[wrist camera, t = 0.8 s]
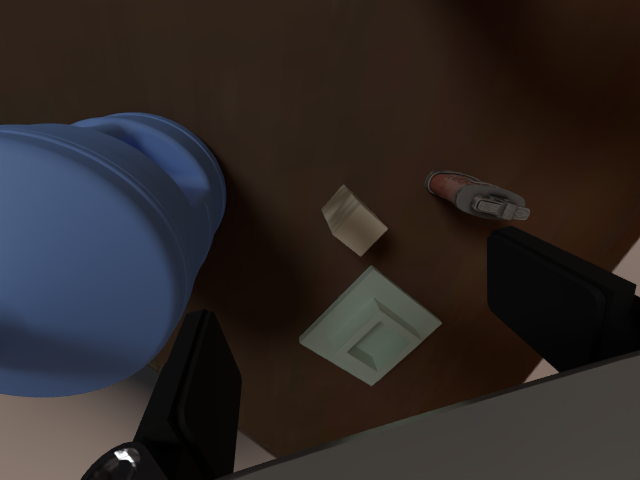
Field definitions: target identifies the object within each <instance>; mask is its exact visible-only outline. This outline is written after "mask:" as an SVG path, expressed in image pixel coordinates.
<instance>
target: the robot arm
mask: <svg viewBox="0 0 640 480" xmlns="http://www.w3.org/2000/svg"><path fill="white" fill-rule="evenodd" d="M635 289H636V284H634V283H632V282H630V281H627V280H625V279H623V278H621V277H619V276H617V275H615V274H613V273H611V272H608V271H606V270H604V269H602V268H600V267H598V266H596V265H594V264H592V263H589V262H587V261H585V260H583V259H581V258H579V257H577V256H575V255H573V254H570V253H568V252H566V251H564V250H562V249H560V248H558V247H556V246H554V245H551V244H549V243H547V242H545V241H543V240H541V239H539V238H537V237H535V236H532V235H530V234H528V233H526V232H524V231H522V230H520V229H518V228H515V227H513V226H508V227H504V228H501V229H497V230H494V231H492V233H491V236H489V237H488V238H487V301H488V306H489V308H490V310H491V311H492V312H493V313H494V314H495V315H496V316H497V317H498V318H499V319H500V320H502V321H503V322H504V323H505V324H506V325H507V326H508V327H509V328H510V329H512V330H513V331H514V332H515V333H516V334H517V335H518V336H519V337H521V338H522V339H523V340H524V341H525V342H526V343H527V344H528V345H529V346H531V347H532V348H533V349H534V350H535V351H536V352H537V353H538V354H539V355H541V356H542V357H543V358H544V359H545V360H546V361H547V362H548V363H550V364H551V365H552V366H553V367H554V368H555V369H556V370H557V371H558V372H559V373H557V374H554V375H550V376H547V377H544V378H540V379H537V380H534V381H530V382H527V383H523V384H520V385H516V386H513V387H510V388H506V389H503V390H499V391H496V392H493V393H489V394H486V395H483V396H479V397H476V398H473V399H469V400H466V401H463V402H459V403H456V404H453V405H449V406H446V407H443V408H439V409H436V410H433V411H430V412H426V413H423V414H420V415H416V416H413V417H410V418H406V419H403V420H400V421H396V422H393V423H390V424H387V425H383V426H380V427H377V428H374V429H370V430H367V431H364V432H361V433H357V434H354V435H351V436H347V437H344V438H341V439H338V440H334V441H331V442H328V443H325V444H321V445H318V446H315V447H312V448H308V449H305V450H302V451H299V452H295V453H292V454H289V455H286V456H283V457H280V458H277V459H274V460H271V461H268V462H265V463H262V464H259V465H255V466H252V467H249V468H246V469H243V470H241V471H237V472H234V473H233V470H234V460H235V450H236V439H237V428H238V418H239V407H240V397H241V386H242V379H241V374H240V371H239V369H238V367H237V364H236V362H235V360H234V357H233V355H232V353H231V350H230V348H229V346H228V343H227V341H226V339H225V336H224V334H223V332H222V329H221V327H220V325H219V323H218V320H217V318H216V316H215V314H214V312H208V311H207V310H206V309H202V310H199V311H195V312H191V313H188V314H186V316H185V318H184V321H183V323H182V326H181V328H180V331H179V333H178V336H177V338H176V341H175V343H174V346H173V348H172V351H171V353H170V356H169V358H168V361H167V363H165V365H164V366H163V368H162V371H161V373H160V376H159V378H158V381H157V383H156V386H155V388H154V390H153V393H152V395H151V398H150V400H149V403H148V405H147V408H146V410H145V412H144V415H143V417H142V420H141V422H140V425H139V427H138V430H137V432H136V435H135V437H134V439H133V441H132V442H127V443H123V444H121V445H119V446H117V447H114V448H113V449H111V450H110V451H108V452H107V453H105V454H104V455H102V456H101V457H100V458H99V459H98V460H97V461H96V462H95V463H94V464H92V465H91V467H90V468H89V469H88V470H87V472H86V473H85V474H84V475H83V476H82V478H81V480H640V297H638V296H636V295H634V294H635Z"/></svg>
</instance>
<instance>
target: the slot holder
mask: <svg viewBox="0 0 640 480" xmlns="http://www.w3.org/2000/svg"><path fill="white" fill-rule="evenodd" d="M441 324H442V323H441V321H440V320H439V319H438V318H437V317H436V316H435V315H433V314H432V313H431V312H430V311H428V310H427V309H426V308H425V307H423V306H422V305H421V304H420V303H418V302H417V301H416V300H415V299H413V298H412V297H411V296H410V295H408V294H407V293H406V292H405V291H403V290H402V289H401V288H400V287H398V286H397V285H396V284H395V283H393V282H392V281H391V280H390V279H388V278H387V277H386V276H385V275H383V274H382V273H381V272H380V271H378V270H377V269H376V268H375V267H373V266H372V265H371V266H370V267H369V268H368V269H367V270H366V271H365V272H364V273H363V274H362V275H361V276H360V277H359V278H358V279H357V280H356V281H355V282H354V283H353V284H352V285H351V286H350V287H349V288H348V289H347V290H346V291H345V292H344V293H343V294H342V295H341V296H340V297H339V298H338V299H337V300H336V301H335V302H334V303H333V304H332V305H331V306H330V307H329V308H328V309H327V310H326V311H325V312H324V313H323V314H322V315H321V316H320V317H319V318H318V319H317V320H316V321H315V322H314V323H313V324H312V325H311V326H310V327H309V328H308V329H307V330H306V331H305V332H304V333H303V334H302V335H301V336H300V337H299V342H300V344H302V345H304V346H305V347H307V348H309V349H310V350H312V351H314V352H315V353H317V354H319V355H320V356H322V357H324V358H325V359H327V360H329V361H330V362H332V363H334V364H336V365H337V366H339V367H341V368H342V369H344V370H346V371H347V372H349V373H351V374H352V375H354V376H356V377H357V378H359V379H361V380H362V381H364V382H366V383H367V384H369V385H371V386H372V385H373V384H374V383H376V382H377V381H378V380H380V379H381V378H382V377H383V376H384V375H385V374H386V373H388V372H389V371H390V370H391V369H392V368H393V367H394V366H395V365H397V364H398V363H399V362H400V361H401V360H402V359H403V358H404V357H406V356H407V355H408V354H409V353H410V352H411V351H412V350H413V349H415V348H416V347H417V346H418V345H419V344H420V343H421V342H422V341H423V340H424V339H425V338H426V337H427V336H429V335H430V334H431V333H432V332H433V331H434V330H435V329H436V328H438V327H439V326H440V325H441Z"/></svg>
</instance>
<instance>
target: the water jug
mask: <svg viewBox="0 0 640 480" xmlns="http://www.w3.org/2000/svg"><path fill="white" fill-rule="evenodd" d="M225 207H226V185H225V180H224V176H223V173H222V171H221V168H220V166H219V164H218V162H217V160H216V158H215V157H214V155H213V154H212V152H211V151H210V150H209V148H208V147H207V146H206V145H205V144H204V143H203V142H202V141H201V140H200V139H199V138H198V137H197V136H196V135H195V134H193V133H192V132H191V131H189V130H188V129H186V128H185V127H183V126H182V125H180V124H178V123H176V122H174V121H172V120H169V119H167V118H164V117H161V116H157V115H153V114H148V113H135V112H133V113H120V114H113V115H109V116H105V117H99V118H91V119H86V120H82V121H79V122H76V123H73V124H71V125H65V124H35V125H0V394H7V395H13V396H23V397H61V396H70V395H77V394H82V393H87V392H91V391H95V390H99V389H102V388H105V387H107V386H110V385H113V384H115V383H117V382H119V381H122V380H124V379H126V378H127V377H129V376H131V375H132V374H134V373H136V372H137V371H138V370H140V369H142V368H143V367H144V366H145V365H147V364H148V363H149V362H150V361H151V360H152V359H153V358H154V357H155V356H156V355H157V354H158V353H159V352H160V351H161V349H162V348H163V347H164V345H165V344H166V342H167V341H168V339H169V338H170V336H171V334H172V332H173V330H174V329H175V327H176V325H177V324H178V322H179V320H180V319H181V317H182V315H183V312H184V310H185V308H186V305H187V303H188V300H189V298H190V295H191V292H192V289H193V285H194V280H195V278H196V276H197V273H198V271H199V269H200V267H201V266H202V264H203V262H204V261H205V259H206V257H207V254H208V252H209V249H210V247H211V244H212V241H213V237H214V234H215V232H216V231H217V229H218V227H219V225H220V223H221V220H222V218H223V216H224V212H225Z"/></svg>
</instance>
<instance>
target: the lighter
mask: <svg viewBox="0 0 640 480" xmlns="http://www.w3.org/2000/svg"><path fill="white" fill-rule="evenodd" d="M425 187H426V189H427V190H428V191H430V192H431V193H433V194H436V195H438V196H440V197H442V198H445V199H447V200H449V201H451V202H452V203H454V205H455V206H456V207H457V208H459V209H460V210H463V211H465V212H467V213H469V214H471V215H474V216H478V217H481V218H485V219H493V220H513V219H520V220H525V219H526V218H527V217H528V216H529V213H530V210H529V209H527V208H525V200H524V199H523V198H522V197H521V196H519V195H517V194H515V193H512V192H510V191H508V190H505V189H502V188H499V187H497V186H495V185H492V184H489V183H486V182H483V181H480V180H478V179H476V178H474V177H472V176H469V175H466V174H463V173H459V172H452V171H433V172H431V173H430V174H429V175H428V176H427V178H426V181H425Z"/></svg>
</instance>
